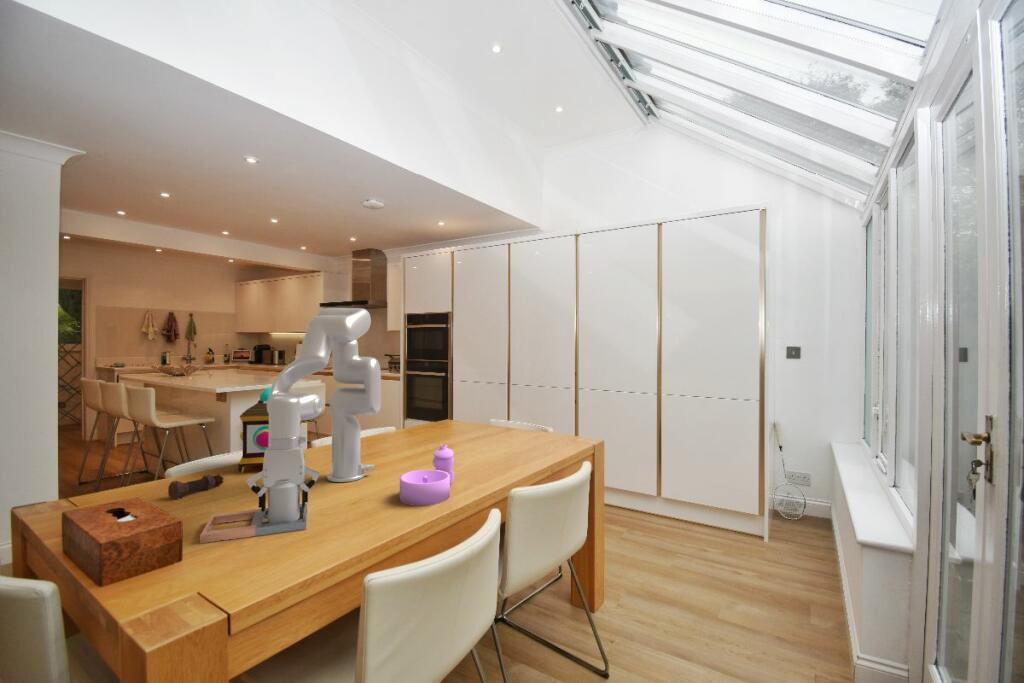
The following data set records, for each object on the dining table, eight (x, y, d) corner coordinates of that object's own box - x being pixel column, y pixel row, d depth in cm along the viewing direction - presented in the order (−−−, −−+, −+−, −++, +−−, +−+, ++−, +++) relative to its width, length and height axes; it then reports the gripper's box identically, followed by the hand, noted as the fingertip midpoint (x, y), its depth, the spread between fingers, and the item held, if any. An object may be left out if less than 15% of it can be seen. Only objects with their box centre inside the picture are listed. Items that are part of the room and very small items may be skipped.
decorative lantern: (246, 461, 183) (247, 385, 183) (301, 457, 189) (302, 384, 189) (232, 475, 164) (233, 390, 164) (294, 471, 170) (295, 389, 170)
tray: (307, 510, 132) (307, 503, 132) (306, 529, 120) (306, 521, 119) (212, 521, 124) (212, 514, 124) (200, 543, 111) (200, 535, 111)
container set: (436, 508, 136) (437, 463, 136) (390, 502, 140) (390, 458, 140) (468, 482, 160) (468, 444, 160) (427, 478, 164) (428, 441, 164)
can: (268, 530, 119) (268, 483, 119) (268, 519, 125) (268, 475, 125) (300, 524, 122) (300, 479, 122) (298, 515, 129) (298, 471, 129)
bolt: (222, 490, 154) (174, 504, 140) (213, 481, 156) (165, 493, 142) (228, 476, 153) (181, 488, 139) (220, 467, 155) (172, 478, 141)
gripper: (319, 438, 130) (319, 499, 130) (249, 442, 124) (248, 507, 124) (319, 443, 123) (319, 508, 124) (245, 448, 117) (244, 517, 117)
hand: (283, 507), depth 124 cm, fingers open, 9 cm apart
